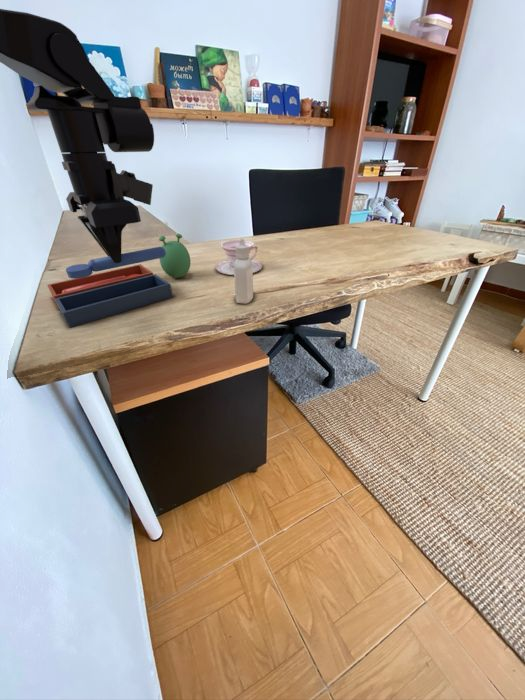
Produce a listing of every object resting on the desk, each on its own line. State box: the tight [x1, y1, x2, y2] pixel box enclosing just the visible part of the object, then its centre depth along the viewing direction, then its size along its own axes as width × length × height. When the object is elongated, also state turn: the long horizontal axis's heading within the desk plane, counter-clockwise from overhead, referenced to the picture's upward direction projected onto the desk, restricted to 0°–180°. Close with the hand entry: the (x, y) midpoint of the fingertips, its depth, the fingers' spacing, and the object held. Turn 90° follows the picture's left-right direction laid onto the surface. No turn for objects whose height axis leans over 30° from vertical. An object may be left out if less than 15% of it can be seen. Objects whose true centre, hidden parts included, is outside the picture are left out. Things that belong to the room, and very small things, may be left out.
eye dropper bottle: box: [233, 237, 254, 305], centre depth 58 cm, size 4×6×12 cm
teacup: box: [215, 239, 263, 276], centre depth 75 cm, size 12×12×6 cm
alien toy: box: [158, 233, 191, 279], centre depth 69 cm, size 7×8×10 cm
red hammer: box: [61, 274, 141, 294], centre depth 64 cm, size 17×4×2 cm, turn 129°
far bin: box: [46, 263, 154, 309], centre depth 64 cm, size 20×8×3 cm, turn 129°
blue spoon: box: [65, 246, 166, 279], centre depth 51 cm, size 17×4×2 cm, turn 129°
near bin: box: [54, 273, 174, 328], centre depth 59 cm, size 20×8×3 cm, turn 129°
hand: (116, 261), depth 51 cm, fingers closed on blue spoon, 2 cm apart
